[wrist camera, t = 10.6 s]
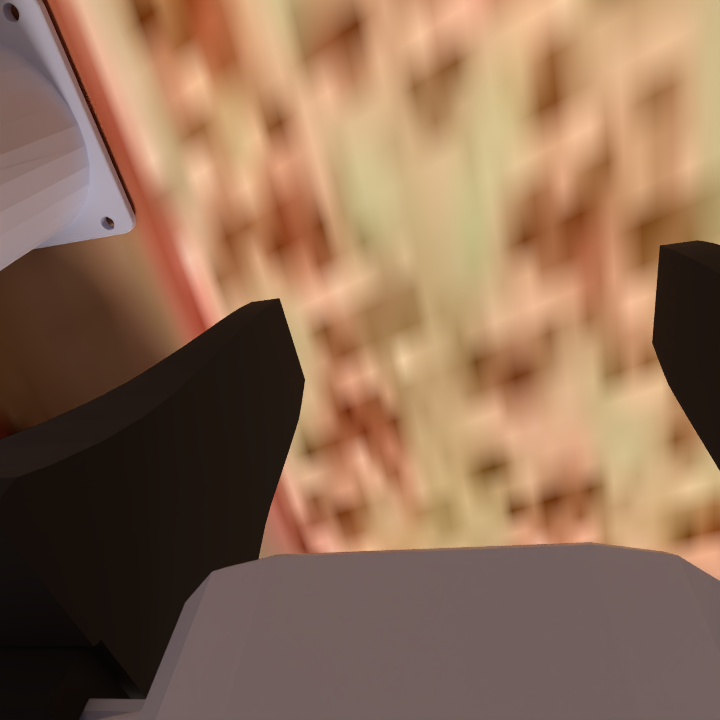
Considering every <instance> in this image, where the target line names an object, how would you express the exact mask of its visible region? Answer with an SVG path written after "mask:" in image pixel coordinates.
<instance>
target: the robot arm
mask: <svg viewBox="0 0 720 720" xmlns="http://www.w3.org/2000/svg"><path fill="white" fill-rule="evenodd" d="M12 4H13V5H14V6H15V7H16V8H17V9H18V11H19V20H16V19H15V18H14V17H13V15H12V13H11V5H12ZM106 217H109V218H110V219H112V221H113V222H114V226H111V225H109V224H108V222H107V221H106ZM135 225H136V218H135V215H134V213H133V210H132V208H131V206H130V203H129V201H128V199H127V196H126V194H125V192H124V189H123V187H122V185H121V182H120V180H119V178H118V175H117V173H116V171H115V168H114V166H113V164H112V161H111V159H110V157H109V154H108V152H107V150H106V147H105V145H104V143H103V140H102V138H101V136H100V133H99V131H98V129H97V126H96V124H95V122H94V119H93V117H92V115H91V112H90V110H89V108H88V105H87V103H86V101H85V98H84V96H83V94H82V91H81V89H80V86H79V84H78V82H77V79H76V77H75V75H74V72H73V70H72V68H71V65H70V63H69V61H68V58H67V56H66V54H65V51H64V49H63V47H62V44H61V42H60V40H59V37H58V35H57V33H56V30H55V28H54V26H53V23H52V21H51V19H50V16H49V14H48V12H47V9H46V7H45V5H44V3H43V1H42V0H0V271H1V270H2V269H4V268H5V267H7V266H8V265H10V264H11V263H13V262H14V261H16V260H17V259H19V258H20V257H22V256H23V255H25V254H26V253H28V252H29V251H31V250H33V249H38V248H44V247H50V246H56V245H61V244H67V243H73V242H79V241H84V240H90V239H96V238H102V237H107V236H113V235H119V234H125V233H127V232H130V231H131V230H132V229H133V228H134V227H135ZM652 343H653V346H654V349H655V351H656V354H657V357H658V360H659V362H660V365H661V367H662V370H663V372H664V375H665V377H666V380H667V382H668V385H669V386H670V388H671V390H672V392H673V393H674V395H675V397H676V399H677V400H678V402H679V404H680V405H681V407H682V409H683V410H684V412H685V414H686V416H687V417H688V419H689V421H690V422H691V424H692V426H693V427H694V429H695V430H696V432H697V434H698V435H699V437H700V439H701V440H702V442H703V444H704V445H705V447H706V449H707V450H708V452H709V454H710V455H711V457H712V459H713V460H714V462H715V464H716V465H717V467H718V469H719V470H720V245H718V244H714V243H710V242H705V241H698V240H697V241H690V242H683V243H676V244H668V245H661V246H660V252H659V264H658V277H657V290H656V302H655V315H654V328H653V341H652ZM304 383H305V378H304V375H303V372H302V369H301V365H300V362H299V359H298V356H297V353H296V349H295V346H294V343H293V340H292V337H291V334H290V330H289V327H288V324H287V321H286V318H285V314H284V311H283V308H282V305H281V302H280V299H279V298H278V299H271V300H264V301H257V302H251V303H249V304H247V305H245V306H243V307H241V308H239V309H238V310H236V311H234V312H233V313H231V314H230V315H228V316H227V317H225V318H224V319H222V320H221V321H219V322H218V323H217V324H215V325H214V326H212V327H211V328H209V329H208V330H207V331H205V332H204V333H202V334H201V335H199V336H198V337H197V338H195V339H194V340H192V341H191V342H189V343H188V344H187V345H185V346H184V347H182V348H181V349H179V350H177V351H176V352H174V353H173V354H171V355H170V356H168V357H167V358H165V359H164V360H162V361H161V362H159V363H157V364H156V365H154V366H153V367H151V368H150V369H148V370H147V371H145V372H143V373H142V374H140V375H138V376H137V377H135V378H133V379H132V380H130V381H128V382H126V383H125V384H123V385H121V386H119V387H117V388H115V389H113V390H111V391H110V392H108V393H106V394H104V395H102V396H100V397H98V398H96V399H94V400H92V401H90V402H88V403H86V404H84V405H81V406H79V407H77V408H75V409H72V410H70V411H68V412H66V413H64V414H61V415H59V416H57V417H55V418H52V419H50V420H48V421H46V422H44V423H41V424H39V425H36V426H34V427H31V428H29V429H26V430H24V431H21V432H18V433H16V434H13V435H11V436H8V437H5V438H2V439H0V720H720V581H719V580H717V579H716V578H714V577H712V576H711V575H709V574H707V573H706V572H704V571H702V570H701V569H699V568H697V567H696V566H694V565H693V564H691V563H689V562H688V561H686V560H684V559H683V558H681V557H679V556H678V555H674V554H670V553H666V552H662V551H654V550H646V549H638V548H631V547H623V546H615V545H607V544H599V543H591V542H588V543H562V544H537V545H512V546H487V547H461V548H436V549H411V550H386V551H360V552H335V553H310V554H285V555H274V556H270V557H266V558H262V559H258V558H259V553H260V548H261V543H262V539H263V534H264V529H265V524H266V521H267V517H268V513H269V510H270V506H271V503H272V500H273V497H274V494H275V491H276V488H277V485H278V482H279V479H280V476H281V473H282V470H283V467H284V464H285V461H286V458H287V455H288V452H289V449H290V445H291V442H292V439H293V436H294V433H295V430H296V427H297V423H298V420H299V415H300V409H301V404H302V397H303V390H304Z"/></svg>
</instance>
